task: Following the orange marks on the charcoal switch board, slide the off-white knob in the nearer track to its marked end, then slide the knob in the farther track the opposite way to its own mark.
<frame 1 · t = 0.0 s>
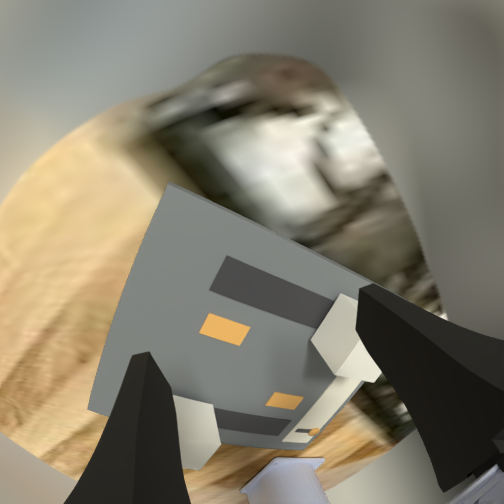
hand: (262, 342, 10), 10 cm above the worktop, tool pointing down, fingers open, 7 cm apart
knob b: (358, 339, 19), point 4 cm above the worktop, slide at -4.0 cm
switch unit: (253, 358, 23), on the worktop
knob a: (181, 433, 19), point 4 cm above the worktop, slide at 4.0 cm
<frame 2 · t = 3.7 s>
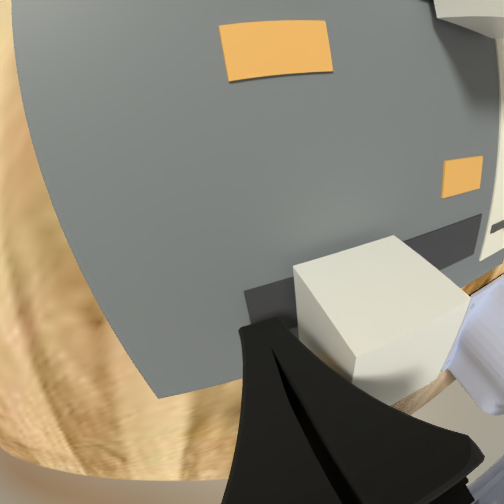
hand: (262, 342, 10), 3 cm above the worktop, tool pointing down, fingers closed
switch unit: (373, 115, 10), on the worktop
knob a: (374, 329, 9), point 4 cm above the worktop, slide at 2.6 cm, touching gripper
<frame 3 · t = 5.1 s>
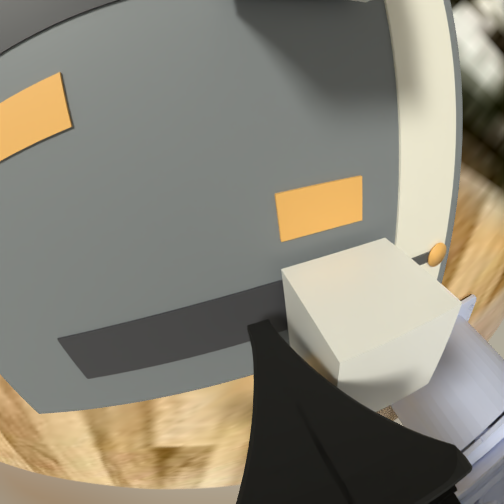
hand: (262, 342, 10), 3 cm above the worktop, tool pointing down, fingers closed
switch unit: (174, 148, 9), on the worktop
knob a: (364, 333, 9), point 4 cm above the worktop, slide at -4.3 cm, touching gripper
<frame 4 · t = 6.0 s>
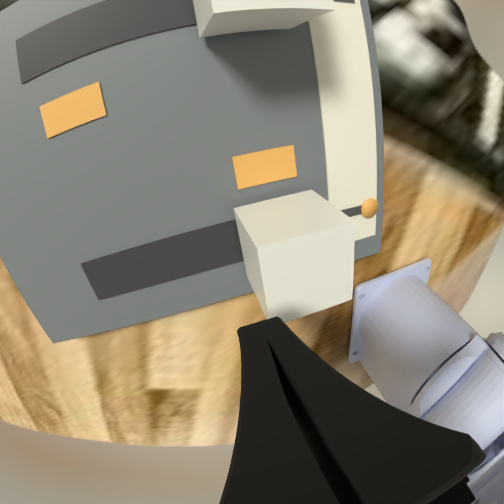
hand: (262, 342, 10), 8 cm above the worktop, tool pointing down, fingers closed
switch unit: (169, 131, 13), on the worktop
knob a: (293, 253, 14), point 4 cm above the worktop, slide at -4.1 cm
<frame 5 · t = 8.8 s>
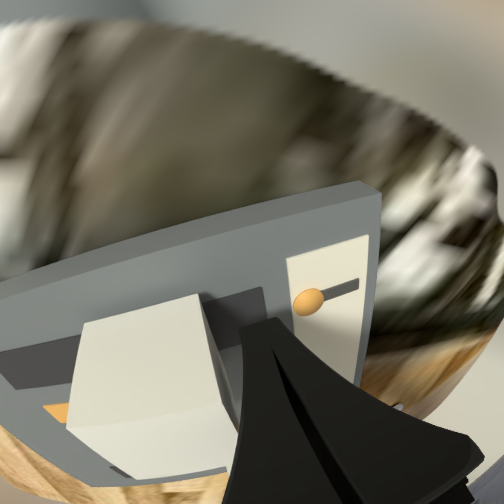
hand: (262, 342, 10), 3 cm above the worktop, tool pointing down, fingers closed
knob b: (162, 396, 8), point 4 cm above the worktop, slide at -2.1 cm, touching gripper
switch unit: (161, 402, 14), on the worktop
knob a: (267, 479, 15), point 4 cm above the worktop, slide at -4.1 cm
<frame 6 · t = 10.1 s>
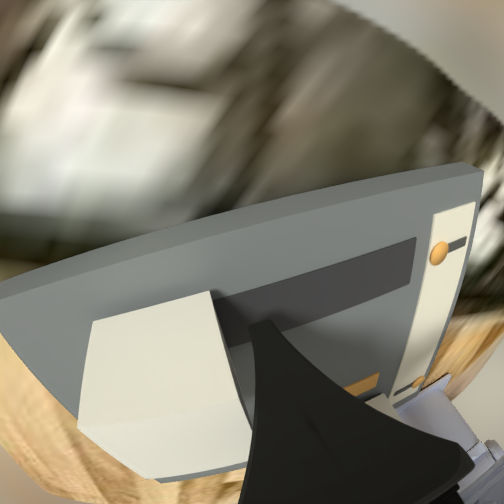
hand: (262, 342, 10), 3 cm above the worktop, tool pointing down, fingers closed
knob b: (173, 394, 8), point 4 cm above the worktop, slide at 4.2 cm, touching gripper
switch unit: (281, 370, 15), on the worktop
knob a: (366, 441, 16), point 4 cm above the worktop, slide at -4.1 cm
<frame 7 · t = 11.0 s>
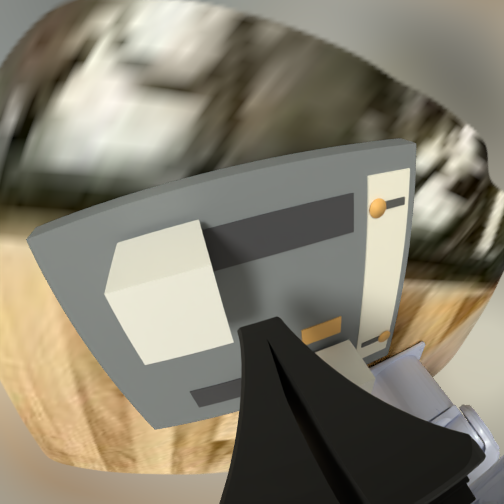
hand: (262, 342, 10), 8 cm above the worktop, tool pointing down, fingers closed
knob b: (170, 291, 13), point 4 cm above the worktop, slide at 4.1 cm
switch unit: (256, 309, 20), on the worktop
knob a: (335, 383, 20), point 4 cm above the worktop, slide at -4.1 cm
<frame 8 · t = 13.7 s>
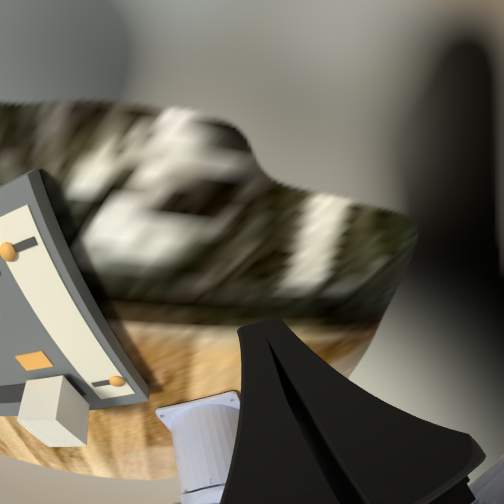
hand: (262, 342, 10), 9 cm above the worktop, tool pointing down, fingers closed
knob a: (54, 413, 17), point 4 cm above the worktop, slide at -4.1 cm
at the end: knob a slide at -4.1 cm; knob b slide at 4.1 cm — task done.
